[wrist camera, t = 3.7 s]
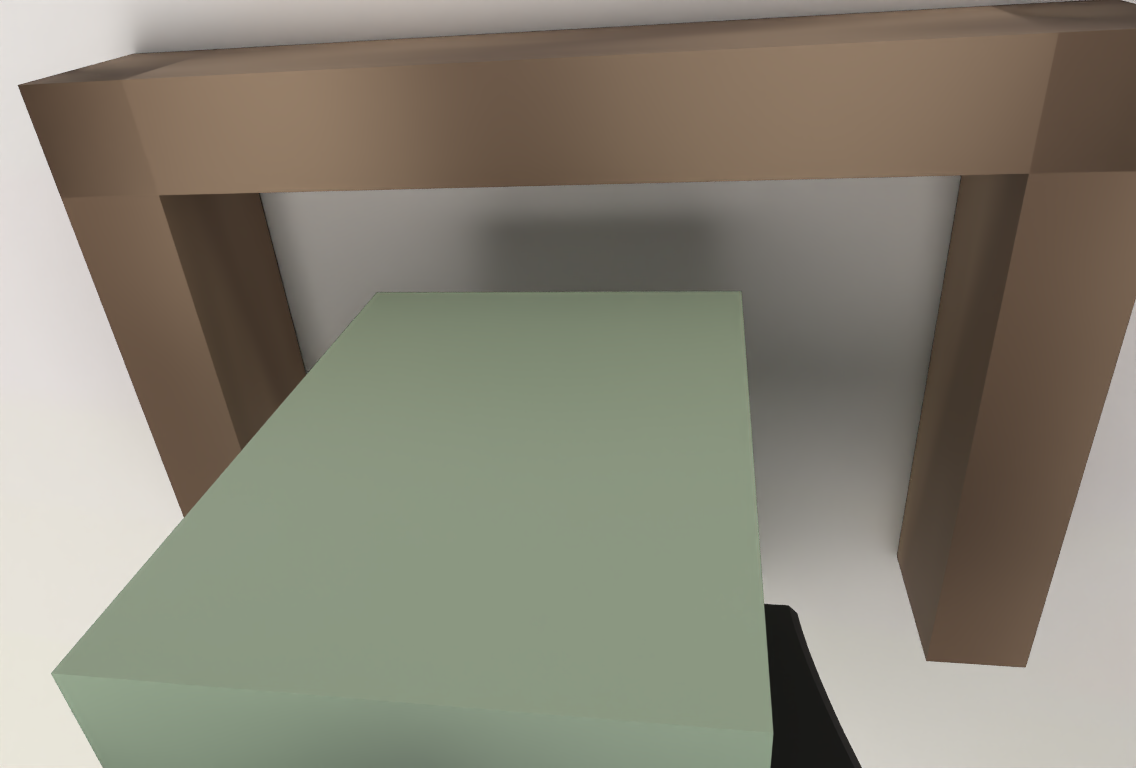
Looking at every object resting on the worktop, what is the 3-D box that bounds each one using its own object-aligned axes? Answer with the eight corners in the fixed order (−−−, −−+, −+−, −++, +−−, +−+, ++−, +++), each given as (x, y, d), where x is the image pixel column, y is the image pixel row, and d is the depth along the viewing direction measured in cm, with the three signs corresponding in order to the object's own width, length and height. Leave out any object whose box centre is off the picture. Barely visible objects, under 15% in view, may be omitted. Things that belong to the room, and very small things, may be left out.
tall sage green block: (741, 291, 10) (771, 732, 5) (724, 737, 14) (731, 1240, 9) (376, 292, 10) (52, 673, 5) (461, 715, 14) (321, 1166, 9)
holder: (1115, -1, 11) (1217, 24, 8) (981, 560, 15) (1025, 667, 13) (132, 54, 13) (17, 84, 11) (280, 527, 18) (221, 614, 15)
